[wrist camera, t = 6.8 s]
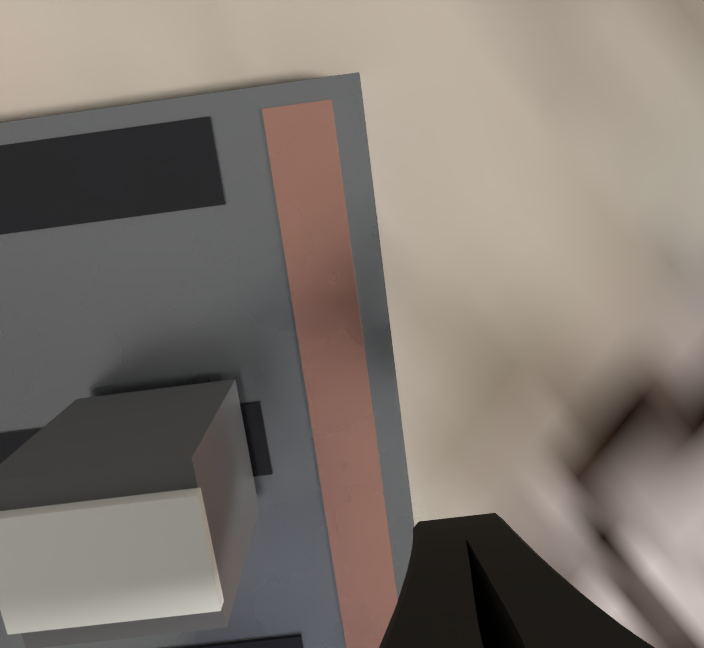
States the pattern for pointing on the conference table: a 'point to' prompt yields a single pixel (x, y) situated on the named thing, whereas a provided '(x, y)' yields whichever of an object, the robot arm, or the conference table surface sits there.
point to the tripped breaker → (127, 517)
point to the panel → (224, 326)
